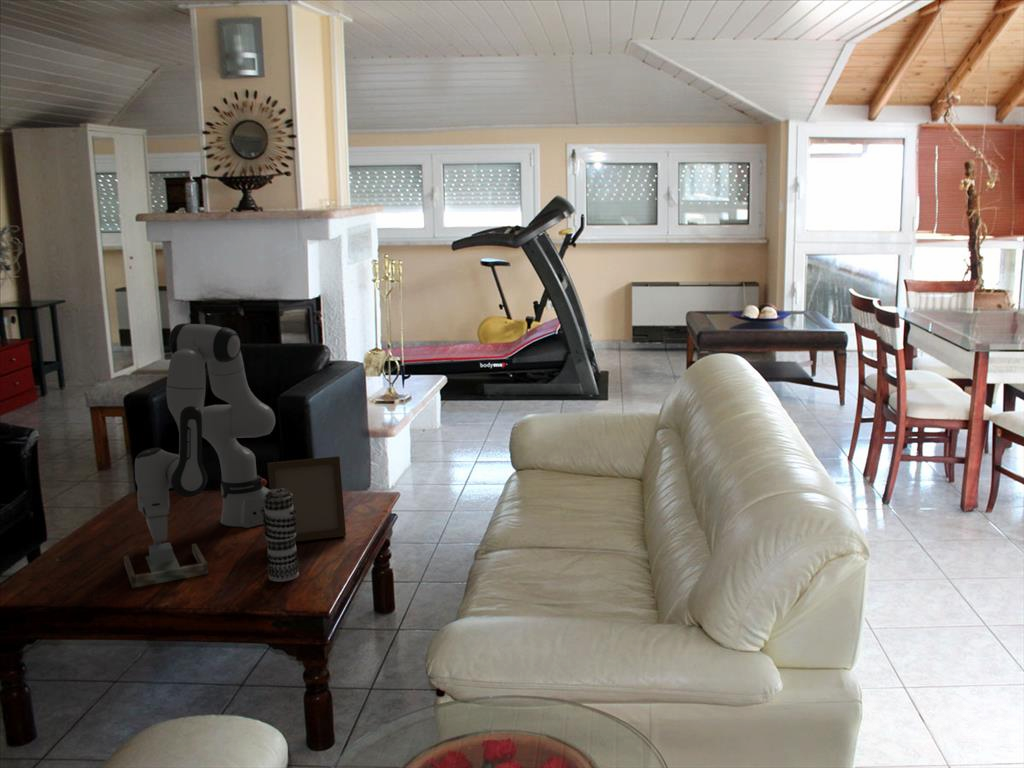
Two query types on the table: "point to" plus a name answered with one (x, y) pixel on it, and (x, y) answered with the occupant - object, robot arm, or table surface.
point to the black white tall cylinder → (280, 535)
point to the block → (161, 553)
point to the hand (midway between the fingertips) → (158, 547)
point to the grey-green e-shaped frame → (167, 570)
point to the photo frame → (312, 495)
